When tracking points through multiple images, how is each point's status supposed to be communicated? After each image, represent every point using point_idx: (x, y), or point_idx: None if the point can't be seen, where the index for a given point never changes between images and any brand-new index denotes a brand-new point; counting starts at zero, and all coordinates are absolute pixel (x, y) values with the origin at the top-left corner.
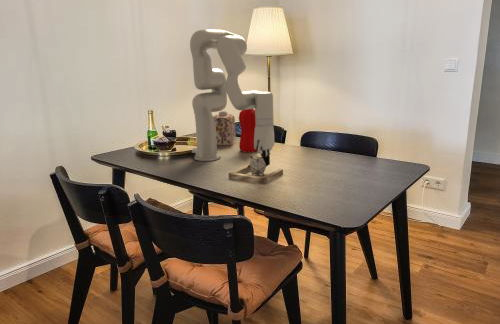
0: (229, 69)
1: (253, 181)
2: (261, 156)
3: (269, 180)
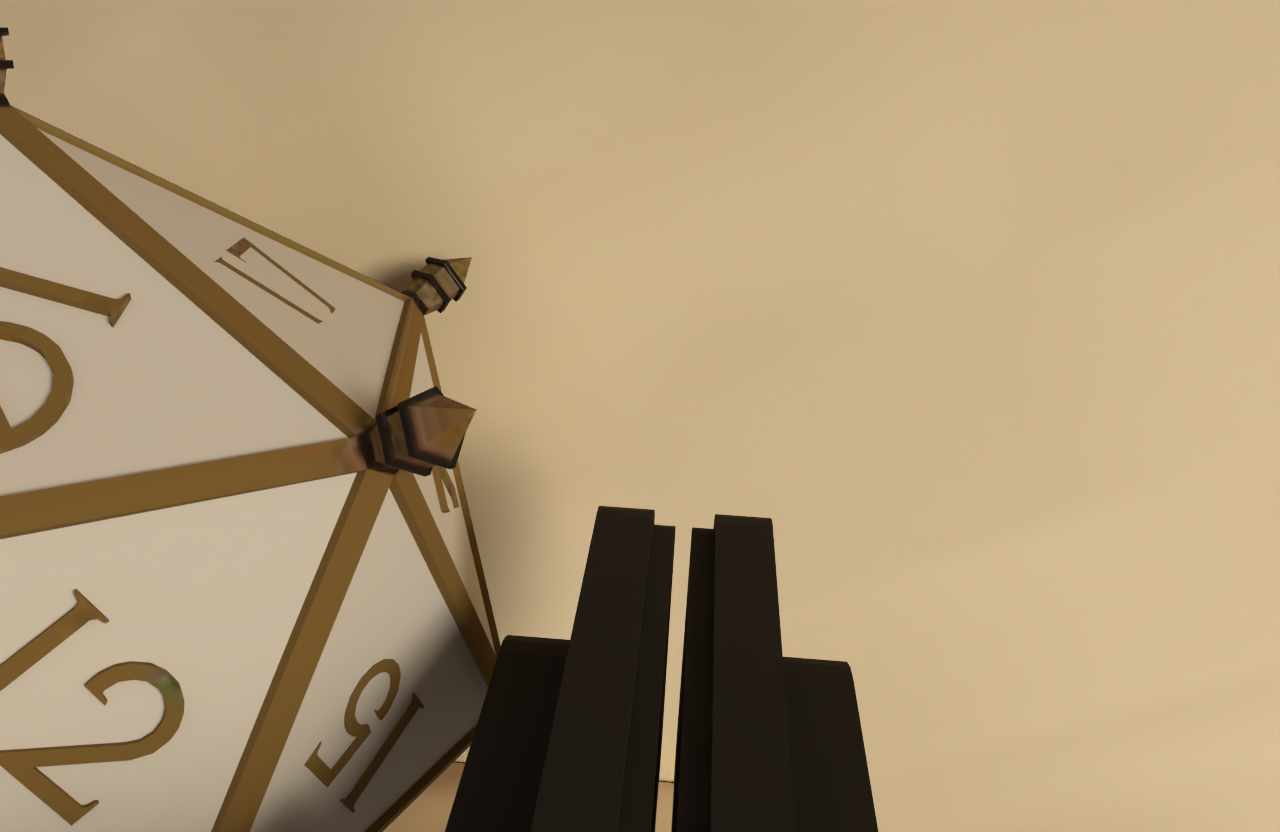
0: None
1: None
2: (534, 825)
3: None
